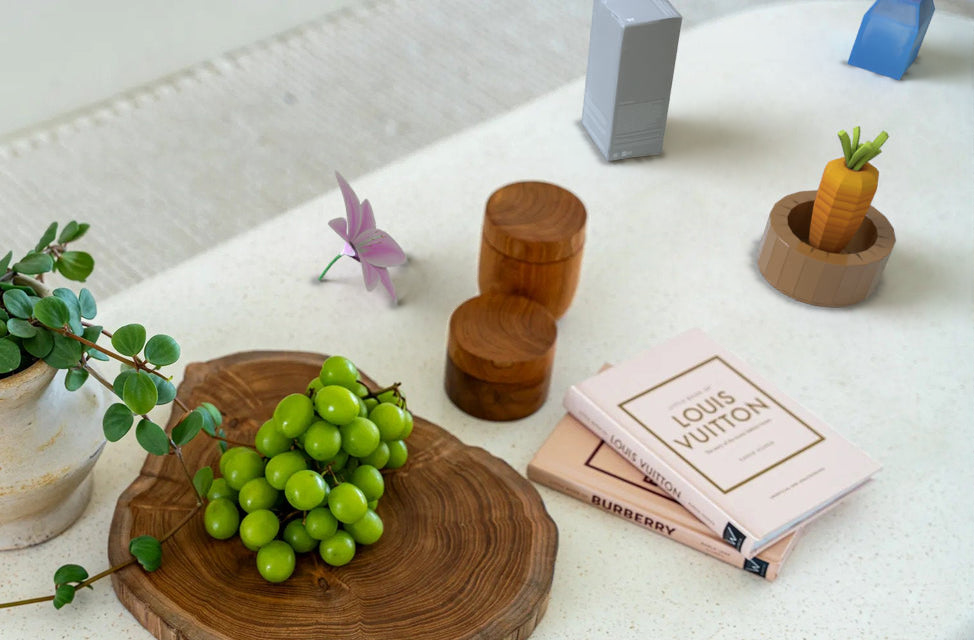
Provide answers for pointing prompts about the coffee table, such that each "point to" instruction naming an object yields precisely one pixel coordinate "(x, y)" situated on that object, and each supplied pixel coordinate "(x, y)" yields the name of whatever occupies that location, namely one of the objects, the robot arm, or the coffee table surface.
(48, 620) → the coffee table surface
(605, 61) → the cosmetic box
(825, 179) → the carrot
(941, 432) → the coffee table surface
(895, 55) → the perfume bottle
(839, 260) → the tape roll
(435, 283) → the coffee table surface
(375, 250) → the lily
